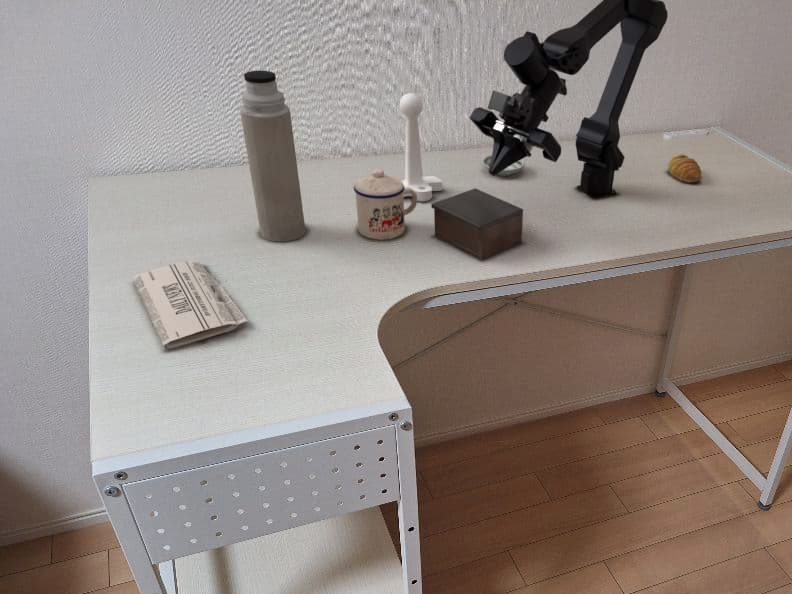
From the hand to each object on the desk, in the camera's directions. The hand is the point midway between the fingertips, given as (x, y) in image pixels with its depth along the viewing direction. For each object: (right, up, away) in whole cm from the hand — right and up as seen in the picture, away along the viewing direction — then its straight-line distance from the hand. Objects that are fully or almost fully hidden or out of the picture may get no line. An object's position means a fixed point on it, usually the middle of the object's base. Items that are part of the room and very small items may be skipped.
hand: (491, 174), depth 139 cm
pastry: (+43, +11, +39) cm, 59 cm away
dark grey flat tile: (-3, -6, +2) cm, 7 cm away
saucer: (+1, +10, +33) cm, 35 cm away
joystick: (-16, +1, +20) cm, 26 cm away
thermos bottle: (-39, -10, +3) cm, 40 cm away
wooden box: (-3, -11, +5) cm, 12 cm away
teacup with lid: (-20, -9, +7) cm, 23 cm away
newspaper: (-46, -26, -19) cm, 56 cm away
